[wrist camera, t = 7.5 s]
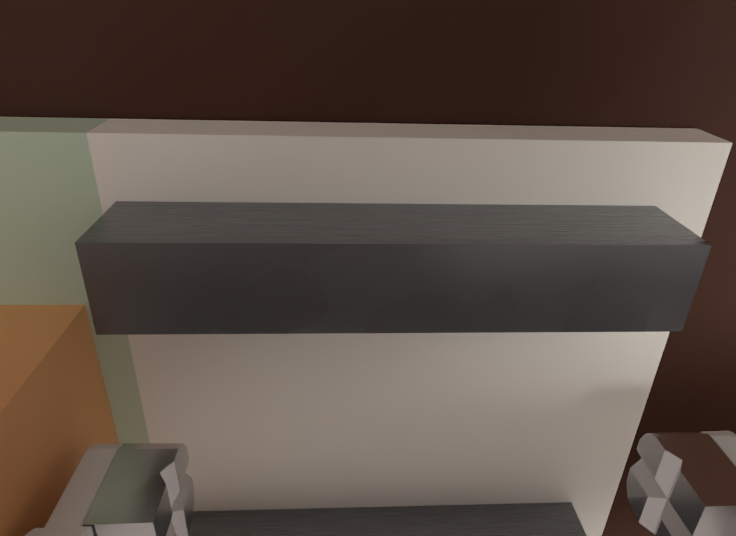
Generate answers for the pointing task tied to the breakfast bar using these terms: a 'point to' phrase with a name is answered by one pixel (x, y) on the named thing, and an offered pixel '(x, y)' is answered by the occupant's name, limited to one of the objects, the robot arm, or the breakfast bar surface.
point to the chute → (369, 307)
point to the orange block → (46, 408)
